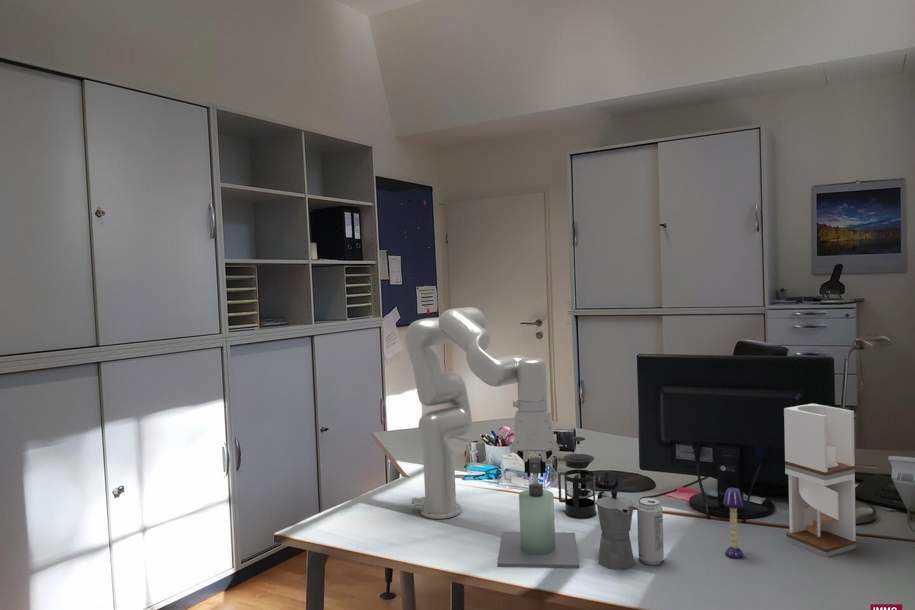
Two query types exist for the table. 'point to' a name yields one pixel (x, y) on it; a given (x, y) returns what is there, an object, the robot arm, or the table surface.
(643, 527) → the energy drink can
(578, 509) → the french press
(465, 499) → the table surface
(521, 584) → the table surface
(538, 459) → the pump head
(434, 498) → the robot arm
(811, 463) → the white architectural model
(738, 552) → the toy lamp
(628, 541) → the coffeepot
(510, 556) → the dispenser bottle
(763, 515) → the table surface
